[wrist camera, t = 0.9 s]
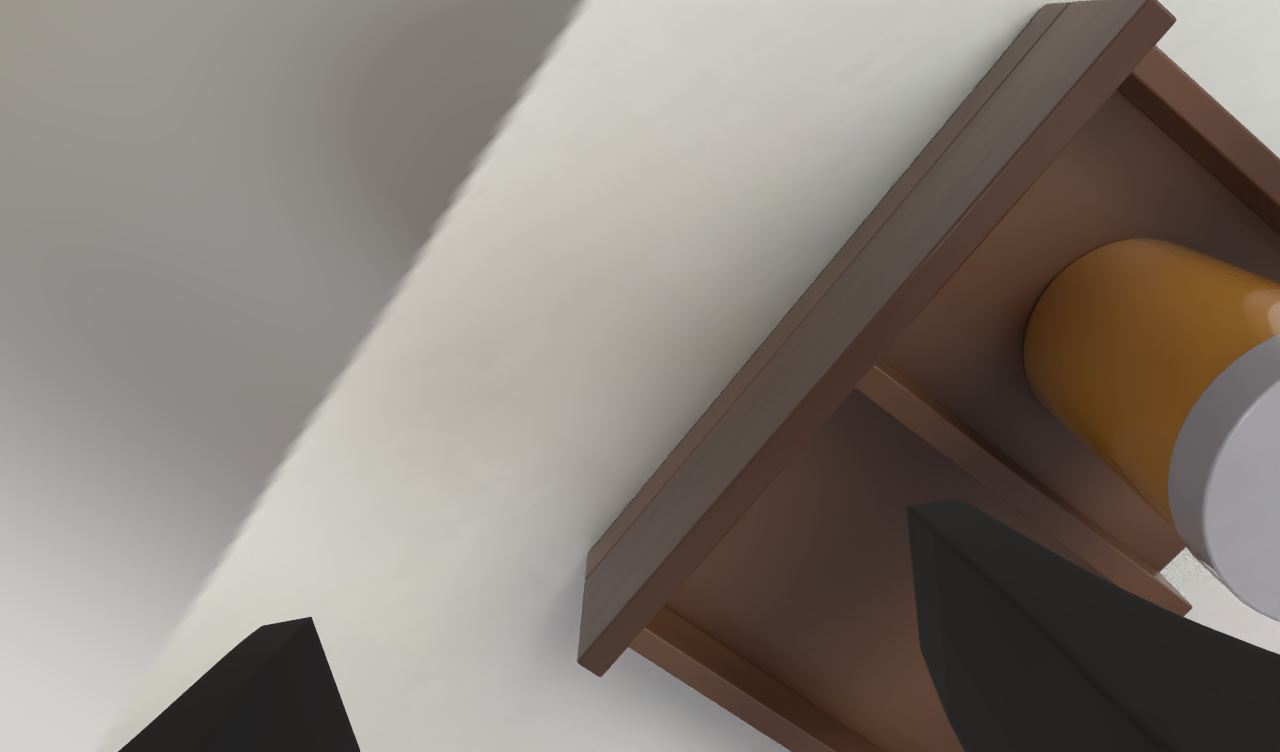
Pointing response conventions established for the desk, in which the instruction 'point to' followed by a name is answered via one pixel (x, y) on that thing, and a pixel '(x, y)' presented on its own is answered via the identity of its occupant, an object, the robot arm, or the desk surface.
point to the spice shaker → (1174, 395)
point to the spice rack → (927, 395)
